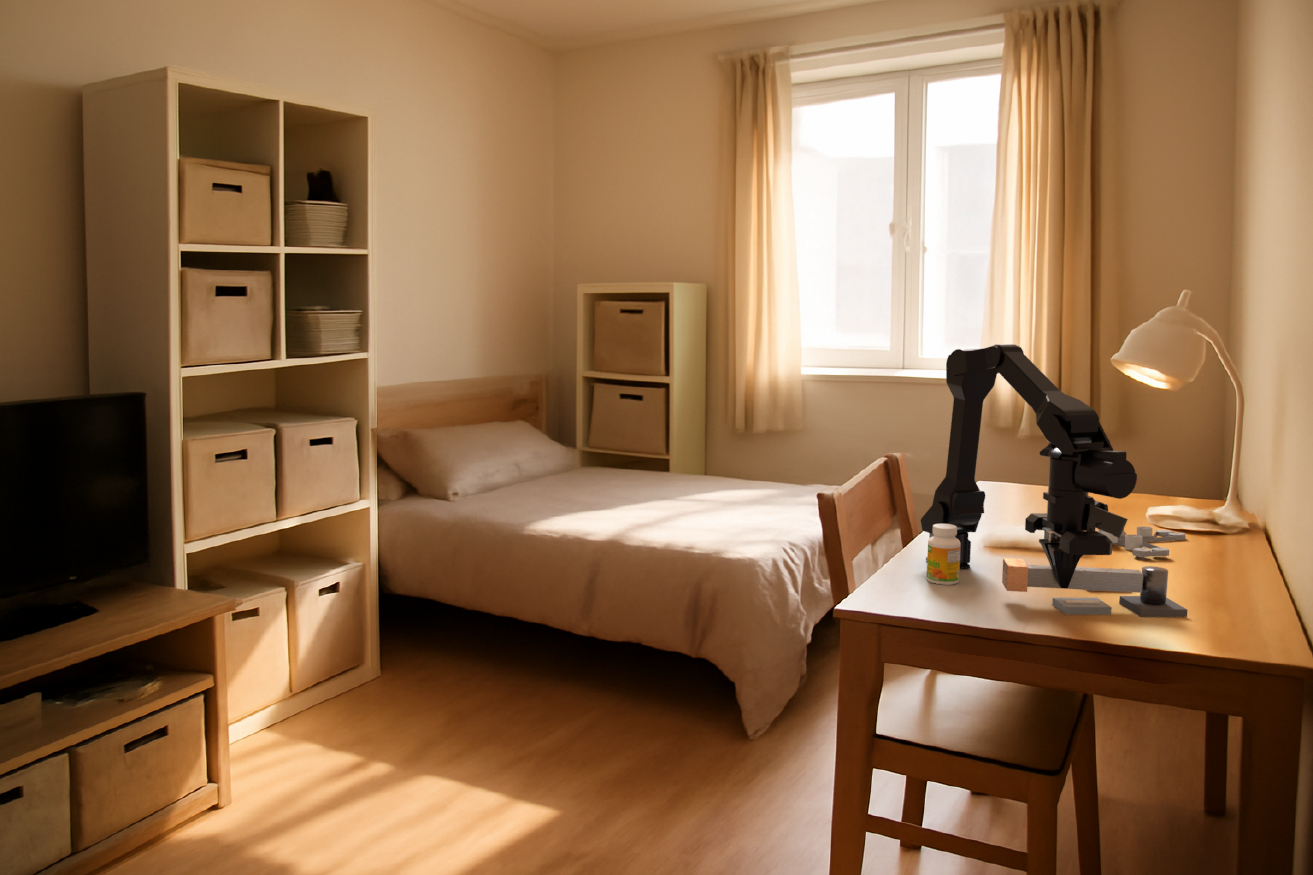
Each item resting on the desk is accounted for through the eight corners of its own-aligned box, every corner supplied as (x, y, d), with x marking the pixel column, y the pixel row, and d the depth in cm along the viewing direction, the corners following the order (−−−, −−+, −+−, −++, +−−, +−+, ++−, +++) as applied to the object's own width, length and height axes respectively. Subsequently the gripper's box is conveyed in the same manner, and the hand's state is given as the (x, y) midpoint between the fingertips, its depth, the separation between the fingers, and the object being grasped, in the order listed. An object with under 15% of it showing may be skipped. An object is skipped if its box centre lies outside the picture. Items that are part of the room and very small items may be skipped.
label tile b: (1065, 614, 147) (1065, 605, 147) (1052, 604, 152) (1052, 596, 152) (1111, 614, 147) (1111, 605, 147) (1096, 604, 152) (1097, 596, 152)
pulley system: (1079, 556, 187) (1165, 564, 178) (1079, 532, 186) (1166, 538, 177) (1109, 536, 209) (1188, 541, 200) (1110, 514, 208) (1188, 519, 199)
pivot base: (1140, 616, 146) (1141, 609, 146) (1119, 603, 153) (1119, 595, 153) (1186, 617, 146) (1187, 609, 146) (1163, 603, 153) (1163, 596, 153)
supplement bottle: (919, 578, 167) (921, 524, 166) (944, 575, 169) (946, 521, 168) (940, 586, 162) (942, 530, 161) (965, 583, 164) (968, 527, 163)
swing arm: (1160, 596, 151) (1162, 565, 151) (1170, 606, 147) (1172, 574, 146) (1001, 588, 156) (1003, 558, 155) (1006, 597, 151) (1008, 566, 151)
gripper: (1151, 498, 138) (1145, 605, 140) (1094, 479, 156) (1090, 573, 158) (1073, 498, 138) (1068, 604, 140) (1025, 479, 157) (1021, 573, 158)
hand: (1063, 587), depth 149 cm, fingers closed
